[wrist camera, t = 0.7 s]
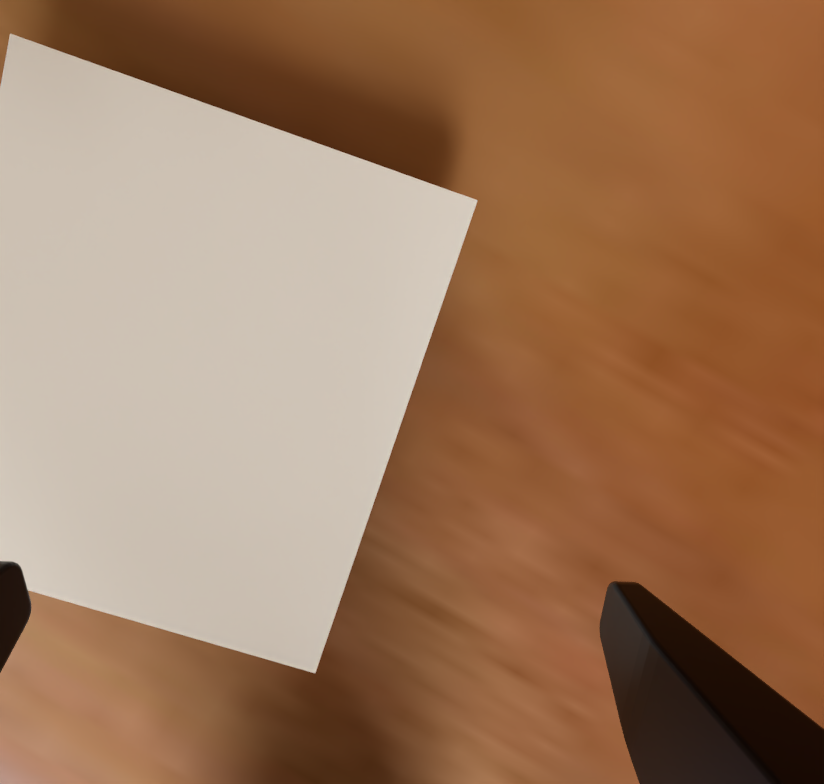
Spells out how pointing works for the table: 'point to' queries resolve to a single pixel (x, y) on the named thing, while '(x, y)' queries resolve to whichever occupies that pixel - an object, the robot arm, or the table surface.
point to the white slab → (200, 352)
